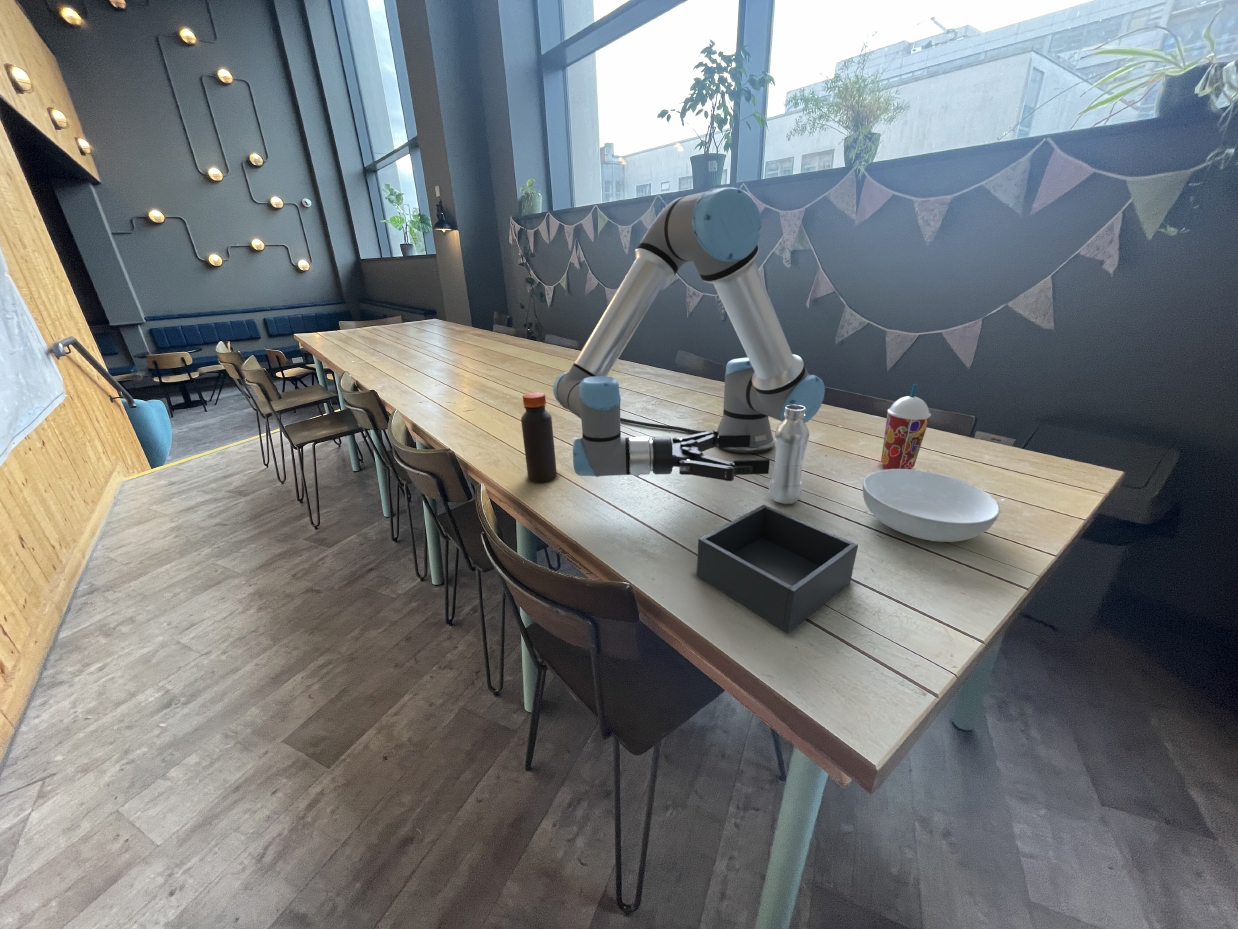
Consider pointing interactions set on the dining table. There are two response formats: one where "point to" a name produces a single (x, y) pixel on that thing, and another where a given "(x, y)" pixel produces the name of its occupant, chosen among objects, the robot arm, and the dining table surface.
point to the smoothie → (904, 432)
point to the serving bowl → (929, 504)
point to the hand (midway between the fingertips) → (758, 452)
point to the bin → (776, 565)
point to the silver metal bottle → (789, 456)
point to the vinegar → (538, 438)
